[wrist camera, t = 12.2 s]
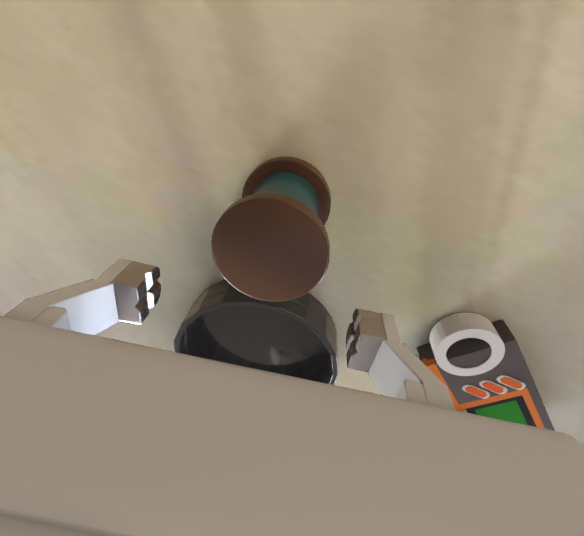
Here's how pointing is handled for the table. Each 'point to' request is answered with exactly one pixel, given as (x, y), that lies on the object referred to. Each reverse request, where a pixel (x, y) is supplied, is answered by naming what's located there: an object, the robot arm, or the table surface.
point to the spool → (276, 232)
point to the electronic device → (484, 370)
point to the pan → (262, 333)
